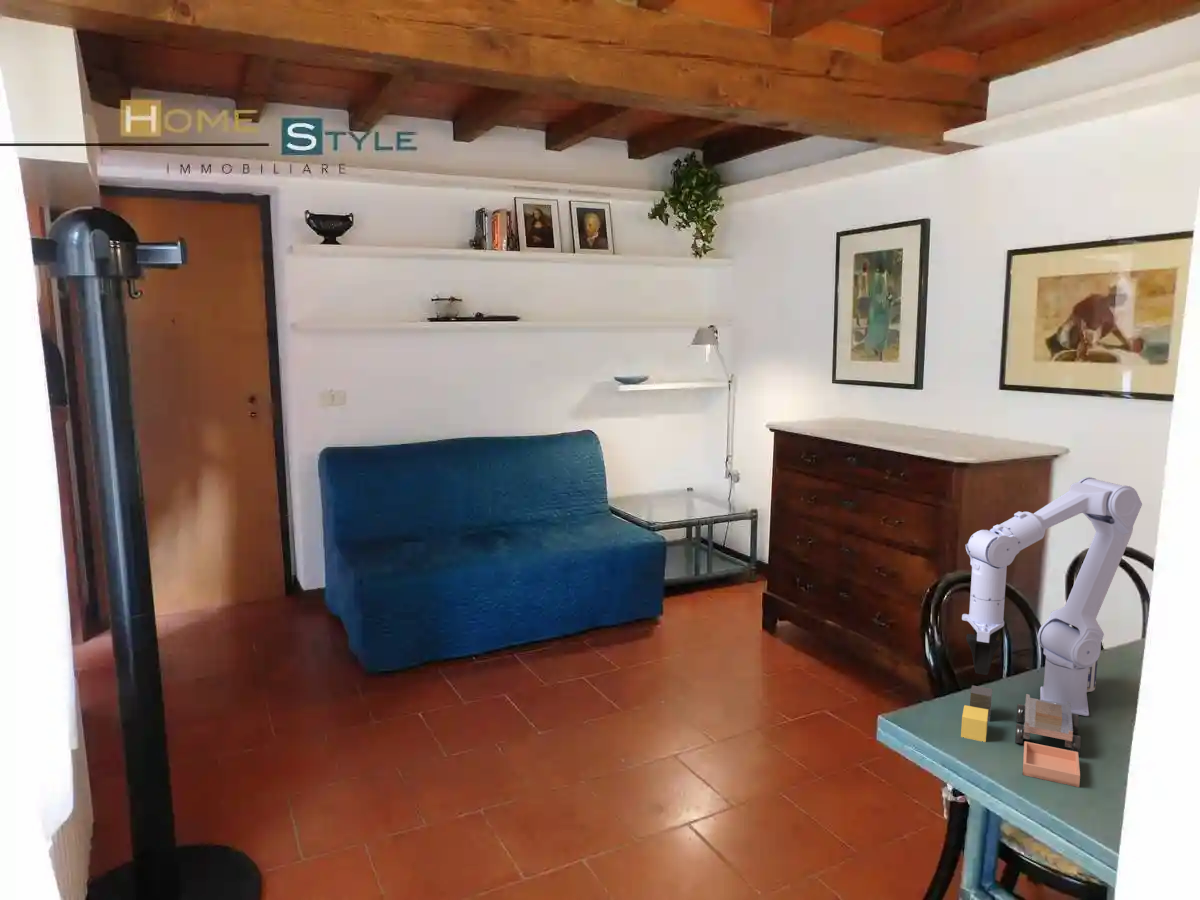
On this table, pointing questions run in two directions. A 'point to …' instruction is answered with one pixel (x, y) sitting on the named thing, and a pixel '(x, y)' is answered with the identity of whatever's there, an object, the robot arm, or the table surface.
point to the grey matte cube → (981, 698)
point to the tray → (1051, 764)
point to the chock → (974, 723)
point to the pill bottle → (1092, 677)
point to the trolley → (1048, 722)
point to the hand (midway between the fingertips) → (982, 665)
